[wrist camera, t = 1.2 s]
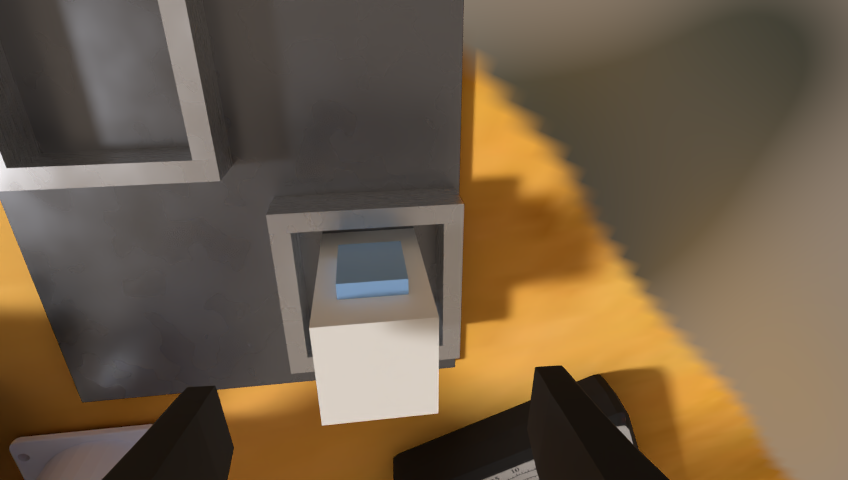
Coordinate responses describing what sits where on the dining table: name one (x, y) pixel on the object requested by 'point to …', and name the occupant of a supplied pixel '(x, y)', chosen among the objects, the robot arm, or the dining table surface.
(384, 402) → the plug
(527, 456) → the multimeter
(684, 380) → the dining table surface
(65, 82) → the panel
